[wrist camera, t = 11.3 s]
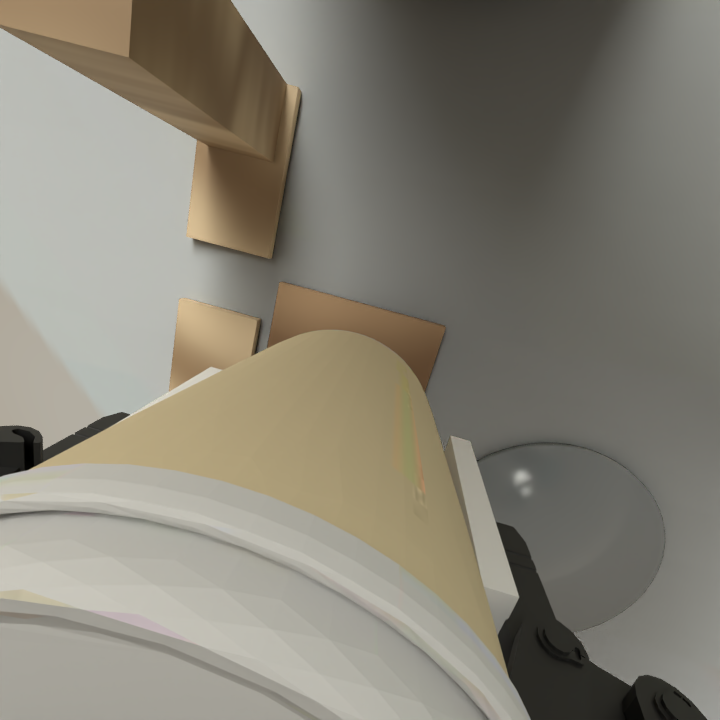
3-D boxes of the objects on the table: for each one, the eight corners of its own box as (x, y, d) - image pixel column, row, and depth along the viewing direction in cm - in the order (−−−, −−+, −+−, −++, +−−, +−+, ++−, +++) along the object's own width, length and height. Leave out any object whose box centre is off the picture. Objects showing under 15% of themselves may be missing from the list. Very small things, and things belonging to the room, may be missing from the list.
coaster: (467, 415, 19) (469, 418, 19) (704, 481, 18) (710, 486, 18) (401, 594, 22) (401, 600, 22) (600, 653, 22) (603, 660, 22)
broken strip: (211, 69, 16) (-40, -178, 7) (301, 92, 16) (166, -129, 7) (170, 420, 21) (-9, 549, 12) (239, 440, 21) (111, 585, 12)
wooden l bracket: (282, 281, 18) (138, 312, 8) (444, 325, 18) (498, 412, 8) (224, 587, 24) (96, 826, 14) (347, 624, 23) (307, 896, 13)
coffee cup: (276, 533, 17) (24, 1071, 6) (190, 346, 15) (-454, 636, 4) (477, 492, 16) (666, 1170, 4) (412, 272, 13) (429, 415, 2)
